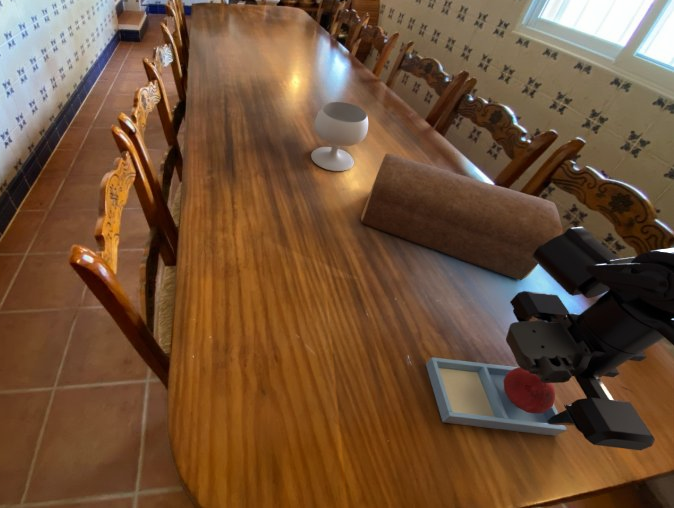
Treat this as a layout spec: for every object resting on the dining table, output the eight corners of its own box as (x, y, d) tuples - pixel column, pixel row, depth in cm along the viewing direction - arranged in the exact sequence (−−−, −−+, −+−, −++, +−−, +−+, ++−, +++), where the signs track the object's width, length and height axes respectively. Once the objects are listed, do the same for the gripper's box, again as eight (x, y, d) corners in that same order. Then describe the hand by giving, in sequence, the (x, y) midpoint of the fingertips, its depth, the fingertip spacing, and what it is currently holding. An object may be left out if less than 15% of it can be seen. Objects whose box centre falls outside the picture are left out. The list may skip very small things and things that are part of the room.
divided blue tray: (556, 436, 51) (567, 430, 49) (442, 422, 51) (450, 415, 50) (526, 376, 57) (535, 369, 56) (425, 364, 58) (431, 357, 56)
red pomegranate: (544, 422, 52) (581, 400, 47) (506, 420, 52) (538, 398, 47) (522, 380, 56) (553, 356, 51) (486, 379, 56) (514, 354, 51)
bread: (370, 191, 92) (388, 144, 83) (518, 240, 82) (557, 193, 72) (358, 224, 82) (376, 174, 73) (524, 285, 72) (569, 236, 63)
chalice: (336, 180, 95) (351, 130, 85) (297, 156, 102) (306, 108, 93) (366, 162, 102) (382, 115, 93) (327, 141, 110) (339, 95, 100)
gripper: (503, 259, 48) (453, 321, 58) (594, 409, 34) (506, 458, 44) (587, 268, 48) (522, 329, 58) (714, 424, 34) (598, 469, 44)
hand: (533, 386), depth 51 cm, fingers open, 9 cm apart
